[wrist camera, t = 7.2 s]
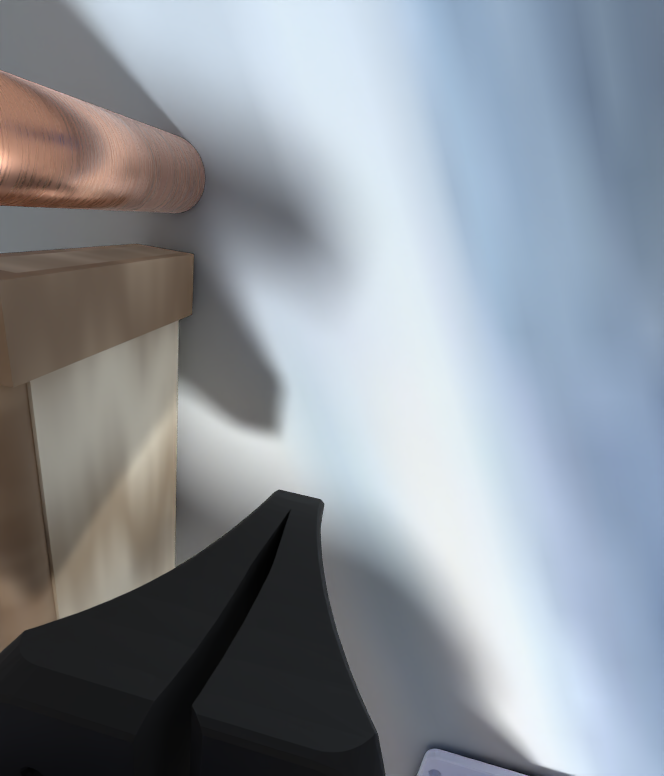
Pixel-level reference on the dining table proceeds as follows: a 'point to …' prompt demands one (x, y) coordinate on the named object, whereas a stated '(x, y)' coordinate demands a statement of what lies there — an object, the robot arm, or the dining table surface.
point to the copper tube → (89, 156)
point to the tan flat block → (87, 425)
